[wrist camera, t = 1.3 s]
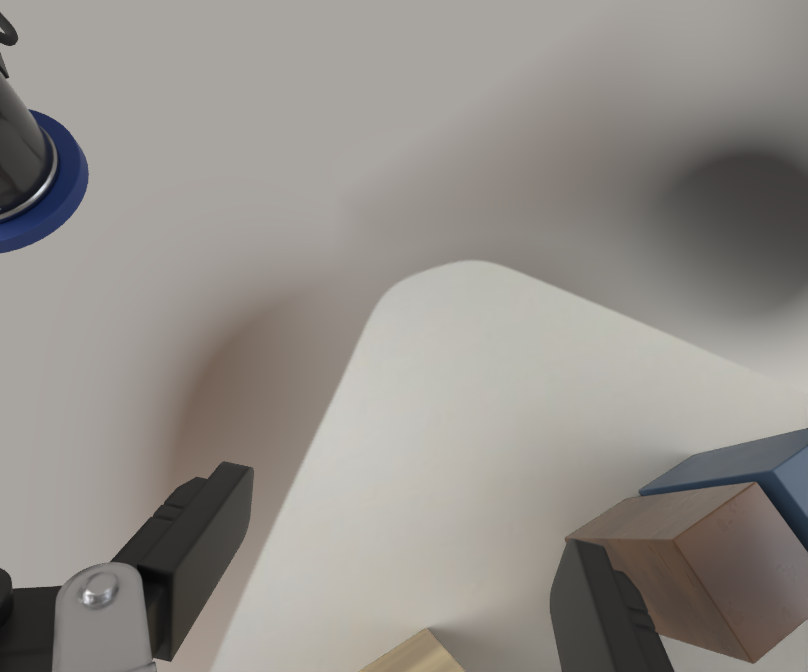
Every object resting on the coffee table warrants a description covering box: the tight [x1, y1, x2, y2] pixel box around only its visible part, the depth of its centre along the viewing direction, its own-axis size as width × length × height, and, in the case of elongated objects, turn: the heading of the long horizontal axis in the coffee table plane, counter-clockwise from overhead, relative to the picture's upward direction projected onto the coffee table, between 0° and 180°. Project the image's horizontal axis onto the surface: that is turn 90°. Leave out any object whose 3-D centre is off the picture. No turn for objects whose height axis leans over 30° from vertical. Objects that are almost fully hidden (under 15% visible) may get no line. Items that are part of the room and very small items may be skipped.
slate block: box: [639, 428, 808, 552], centre depth 25 cm, size 5×5×10 cm
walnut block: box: [565, 482, 808, 664], centre depth 23 cm, size 5×5×10 cm
